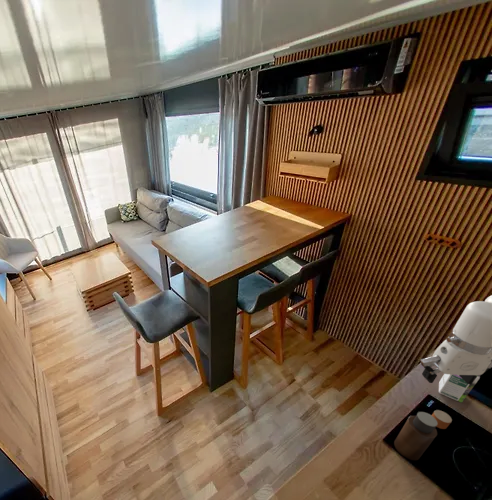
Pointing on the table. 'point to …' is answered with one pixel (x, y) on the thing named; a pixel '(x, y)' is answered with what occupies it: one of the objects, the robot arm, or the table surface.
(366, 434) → the table surface
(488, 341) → the robot arm
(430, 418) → the grey short cylinder
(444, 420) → the orange jar cap
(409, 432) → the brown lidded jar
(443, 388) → the syrup box
